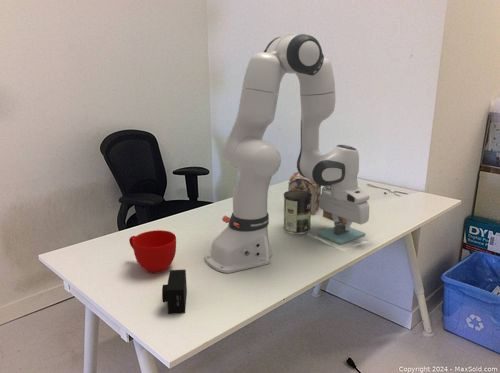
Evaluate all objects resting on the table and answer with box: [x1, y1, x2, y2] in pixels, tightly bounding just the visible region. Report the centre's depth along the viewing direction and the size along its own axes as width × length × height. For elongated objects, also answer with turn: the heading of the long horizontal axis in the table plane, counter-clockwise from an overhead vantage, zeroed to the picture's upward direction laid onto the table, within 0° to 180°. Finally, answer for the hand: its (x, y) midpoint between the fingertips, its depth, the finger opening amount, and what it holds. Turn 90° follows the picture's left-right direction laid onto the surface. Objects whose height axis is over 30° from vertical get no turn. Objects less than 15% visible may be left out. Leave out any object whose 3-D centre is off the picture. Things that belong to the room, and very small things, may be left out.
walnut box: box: [322, 210, 347, 224], centre depth 163 cm, size 12×10×7 cm
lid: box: [317, 222, 366, 245], centre depth 147 cm, size 13×11×5 cm
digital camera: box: [161, 269, 188, 315], centre depth 107 cm, size 10×5×7 cm, turn 6°
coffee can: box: [282, 190, 312, 235], centre depth 152 cm, size 10×10×14 cm
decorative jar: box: [287, 171, 322, 216], centre depth 171 cm, size 12×12×18 cm
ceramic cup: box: [129, 229, 177, 274], centre depth 126 cm, size 13×17×10 cm
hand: (341, 227), depth 146 cm, fingers open, 3 cm apart
